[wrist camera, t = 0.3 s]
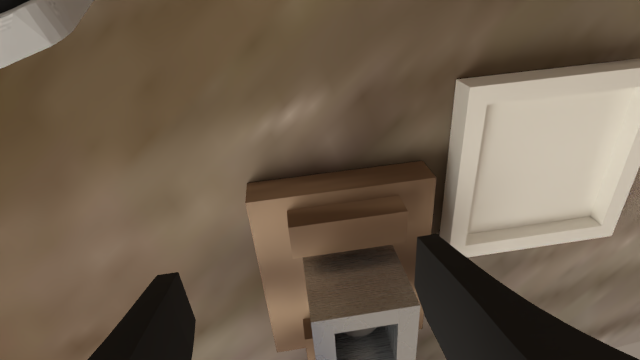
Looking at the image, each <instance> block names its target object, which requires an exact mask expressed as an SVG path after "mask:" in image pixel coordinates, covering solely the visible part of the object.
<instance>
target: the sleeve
mask: <svg viewBox="0 0 640 360" xmlns="http://www.w3.org/2000/svg"><path fill="white" fill-rule="evenodd" d="M303 265H304V273H305V281H306V289H307V297H308V304H309V312H310V320H311V328H312V335H313V343H314V350H315V358H316V360H416V351H417V339H418V327H419V315H420V303H419V301H418V299H417V297H416V295H415V293H414V290H413V288H412V286H411V284H410V282H409V280H408V277H407V275H406V273H405V271H404V269H403V266H402V264H401V262H400V260H399V258H398V256H397V253H396V251H395V249H394V247H393V245H386V246H379V247H373V248H366V249H359V250H352V251H345V252H338V253H331V254H324V255H317V256H310V257H303ZM374 327H376V329H375V330H374V331H372V332H371V333H369V334H367V335H364V336H359V337H353V336H349V335H347V334H345V333H344V332H349V331H355V330H361V329H367V328H374Z"/></svg>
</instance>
